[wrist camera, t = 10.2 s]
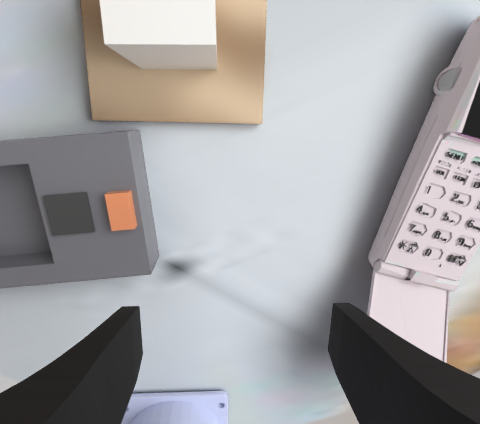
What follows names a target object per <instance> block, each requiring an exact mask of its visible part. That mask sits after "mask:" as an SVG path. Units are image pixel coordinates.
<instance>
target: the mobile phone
mask: <svg viewBox="0 0 480 424" xmlns="http://www.w3.org/2000/svg"><path fill="white" fill-rule="evenodd" d="M433 90H434V93H435V94H436V95H435V98H434V100H433V102H432V104H431V107H430V109H429V111H428V114H427V116H426V118H425V121H424V123H423V125H422V127H421V130H420V132H419V134H418V137H417V139H416V141H415V143H414V146H413V148H412V150H411V153H410V155H409V157H408V160H407V162H406V164H405V166H404V169H403V171H402V173H401V176H400V178H399V180H398V183H397V185H396V188H395V190H394V193H393V195H392V198H391V200H390V203H389V205H388V208H387V210H386V212H385V215H384V217H383V220H382V222H381V225H380V227H379V230H378V232H377V235H376V237H375V240H374V242H373V244H372V247H371V249H370V252H369V255H368V260H369V262H370V263H371V265H372V267H373V274H372V281H371V289H370V296H369V303H368V310H367V315H368V316H370V317H371V318H373V319H374V320H376V321H377V322H379V323H380V324H382V325H383V326H385V327H386V328H388V329H389V330H391V331H392V332H394V333H395V334H397V335H398V336H400V337H401V338H403V339H405V340H406V341H408V342H409V343H411V344H413V345H415V346H416V347H418V348H420V349H421V350H423V351H425V352H426V353H428V354H430V355H432V356H434V357H436V358H438V359H439V360H441V361H443V362H445V363H446V361H447V337H448V313H449V291H454V290H455V289H456V288H457V287H458V286H459V285H458V281H459V280H460V278H461V276H462V274H463V272H464V271H465V269H466V267H467V265H468V263H469V262H470V260H471V258H472V257H473V255H474V253H475V251H476V250H477V248H478V246H479V244H480V16H479V17H478V18H476V19H475V20H473V22H472V23H471V24H470V25H469V27H468V29H467V31H466V33H465V35H464V37H463V39H462V41H461V43H460V45H459V47H458V49H457V51H456V53H455V55H454V57H453V59H452V61H451V63H450V65H449V66H448V67H447V68H446V69H444V70H443V71H441V72H440V74H439V75H438V77H437V78H436V80H435V83H434V86H433ZM446 297H447V300H446Z"/></svg>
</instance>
